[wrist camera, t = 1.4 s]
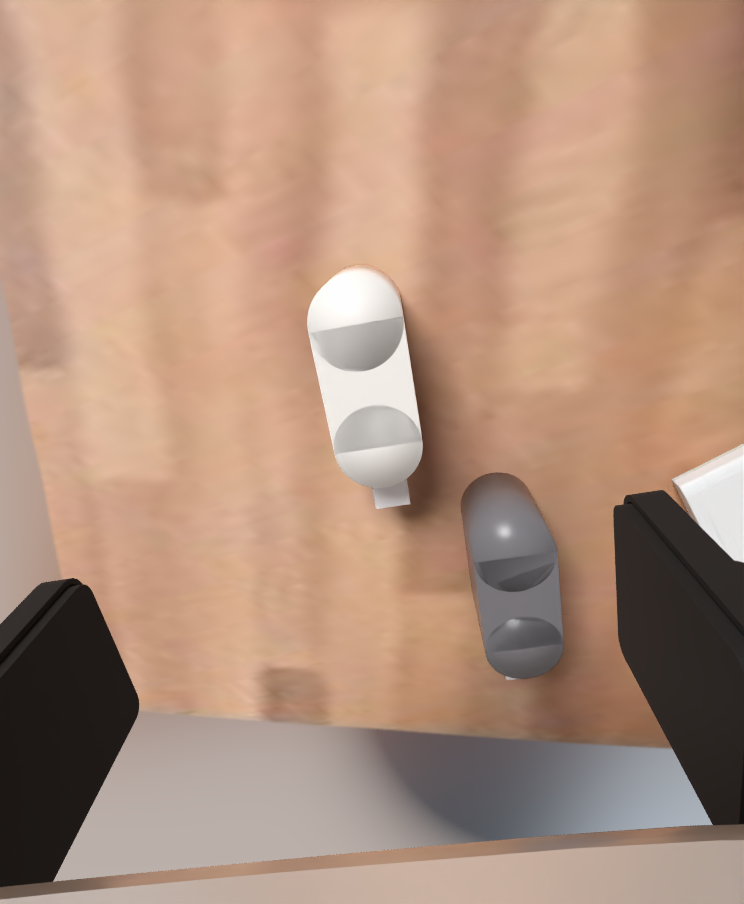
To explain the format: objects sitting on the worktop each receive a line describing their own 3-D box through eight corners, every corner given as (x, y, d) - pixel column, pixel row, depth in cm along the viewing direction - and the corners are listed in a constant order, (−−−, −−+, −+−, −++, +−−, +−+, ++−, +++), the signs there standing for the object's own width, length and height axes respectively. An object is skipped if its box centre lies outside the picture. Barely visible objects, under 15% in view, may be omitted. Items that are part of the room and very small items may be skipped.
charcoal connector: (456, 478, 29) (469, 527, 25) (528, 467, 29) (554, 515, 24) (479, 644, 33) (493, 714, 28) (542, 637, 33) (567, 706, 28)
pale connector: (314, 272, 26) (298, 284, 21) (394, 257, 25) (395, 266, 21) (358, 485, 30) (352, 535, 25) (428, 475, 29) (435, 523, 25)
